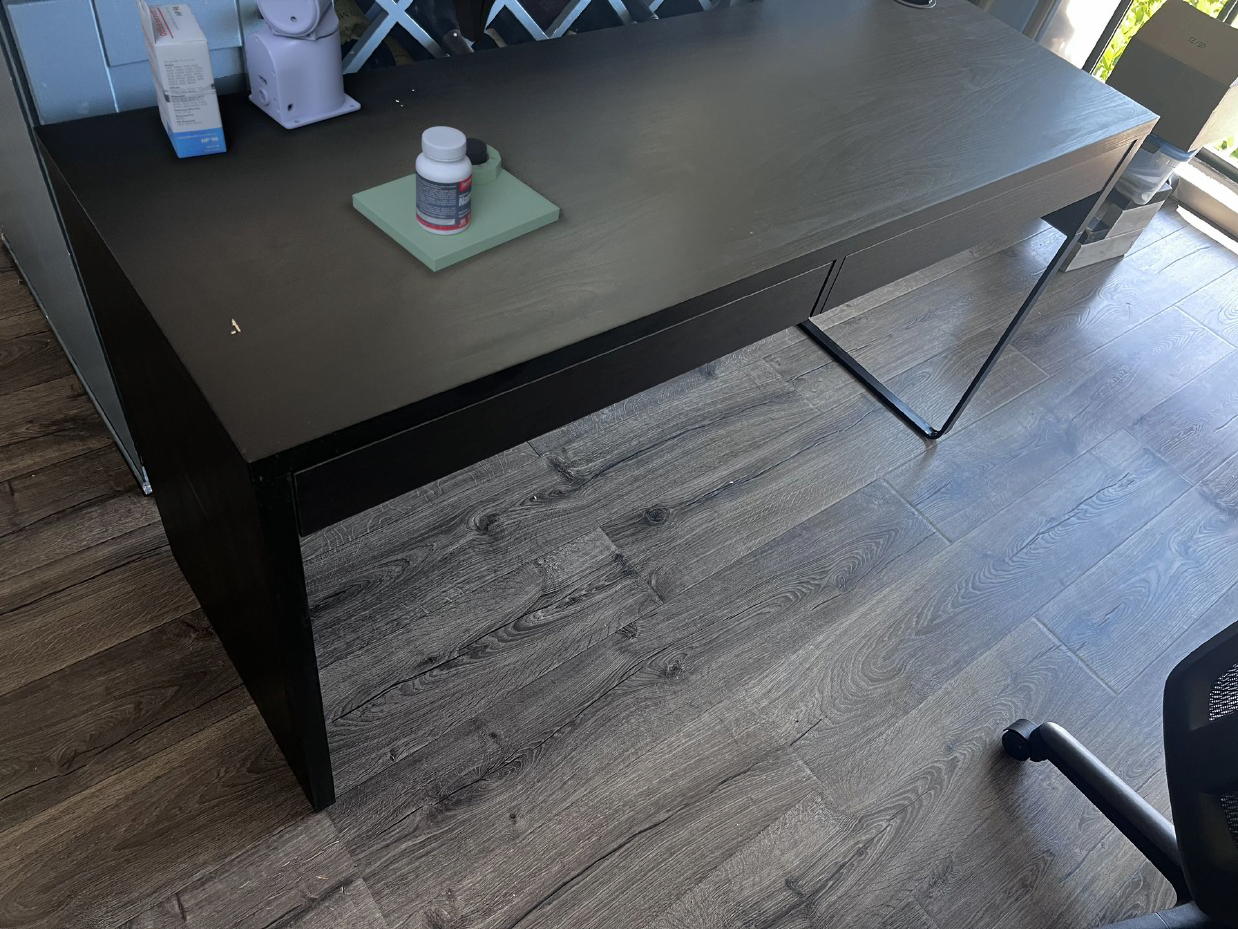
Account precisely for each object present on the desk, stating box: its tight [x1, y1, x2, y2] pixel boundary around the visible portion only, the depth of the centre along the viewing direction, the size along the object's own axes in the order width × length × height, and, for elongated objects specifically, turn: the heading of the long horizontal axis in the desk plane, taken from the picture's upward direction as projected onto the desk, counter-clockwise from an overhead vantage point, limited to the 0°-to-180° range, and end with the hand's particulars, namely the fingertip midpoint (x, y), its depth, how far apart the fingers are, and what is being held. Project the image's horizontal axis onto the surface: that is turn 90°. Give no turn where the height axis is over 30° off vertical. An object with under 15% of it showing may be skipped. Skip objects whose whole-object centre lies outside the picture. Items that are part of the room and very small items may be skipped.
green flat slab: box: [351, 144, 561, 273], centre depth 94 cm, size 16×14×3 cm
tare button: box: [465, 137, 488, 165], centre depth 97 cm, size 3×3×2 cm
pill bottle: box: [415, 125, 472, 235], centre depth 89 cm, size 5×5×9 cm
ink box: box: [135, 0, 227, 159], centre depth 93 cm, size 8×5×15 cm, turn 29°
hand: (471, 37), depth 100 cm, fingers closed
